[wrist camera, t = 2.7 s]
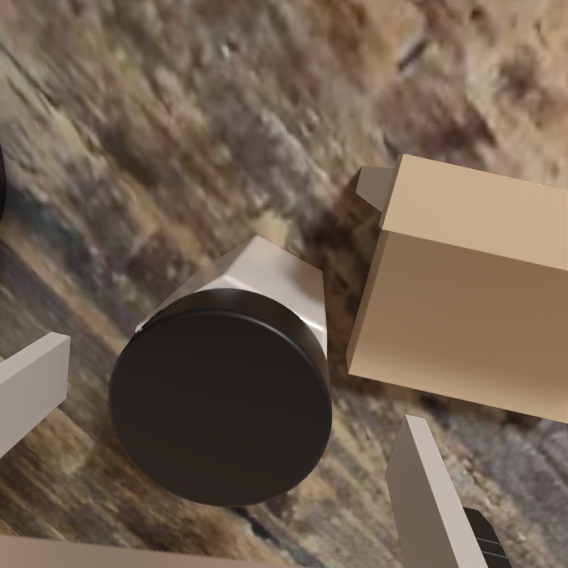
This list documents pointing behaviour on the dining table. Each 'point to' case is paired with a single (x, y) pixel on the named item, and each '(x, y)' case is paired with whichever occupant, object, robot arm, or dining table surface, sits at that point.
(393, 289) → the cleat board
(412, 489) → the robot arm
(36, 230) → the dining table surface
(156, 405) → the jar
